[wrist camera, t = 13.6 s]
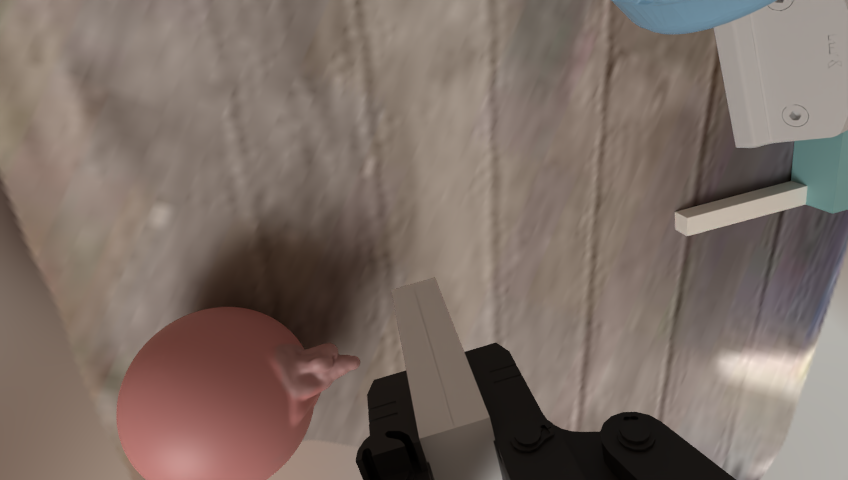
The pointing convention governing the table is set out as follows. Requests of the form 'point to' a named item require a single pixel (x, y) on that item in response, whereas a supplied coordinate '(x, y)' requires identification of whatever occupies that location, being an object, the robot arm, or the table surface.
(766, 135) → the grey half-round casing
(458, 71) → the table surface
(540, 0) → the table surface
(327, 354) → the balloon
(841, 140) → the guide bay
